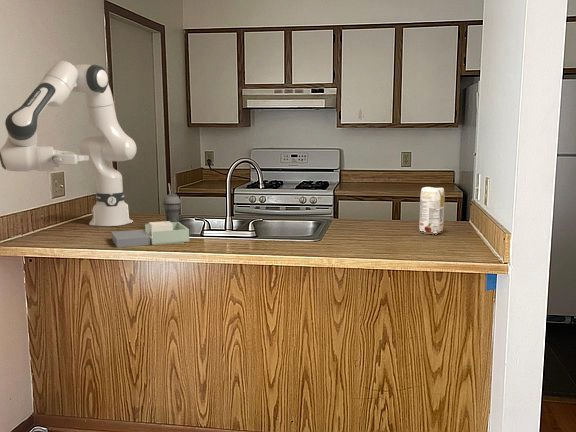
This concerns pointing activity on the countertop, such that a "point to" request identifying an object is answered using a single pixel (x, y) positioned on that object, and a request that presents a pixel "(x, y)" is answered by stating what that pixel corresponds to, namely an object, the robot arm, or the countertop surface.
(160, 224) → the off-white upright block
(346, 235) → the countertop surface
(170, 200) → the beverage cup
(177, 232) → the box
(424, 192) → the juice carton
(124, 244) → the board
